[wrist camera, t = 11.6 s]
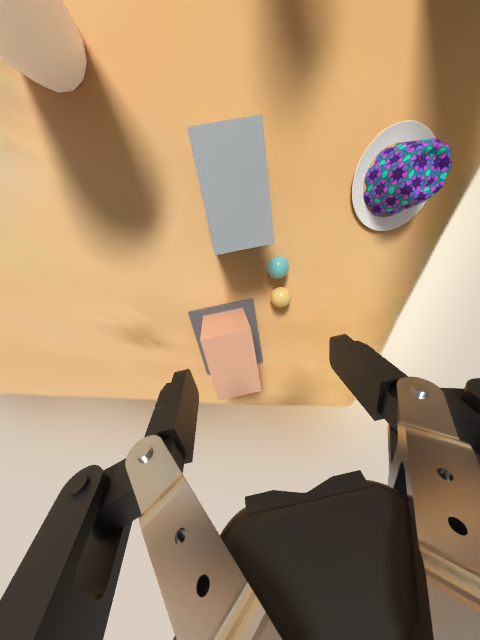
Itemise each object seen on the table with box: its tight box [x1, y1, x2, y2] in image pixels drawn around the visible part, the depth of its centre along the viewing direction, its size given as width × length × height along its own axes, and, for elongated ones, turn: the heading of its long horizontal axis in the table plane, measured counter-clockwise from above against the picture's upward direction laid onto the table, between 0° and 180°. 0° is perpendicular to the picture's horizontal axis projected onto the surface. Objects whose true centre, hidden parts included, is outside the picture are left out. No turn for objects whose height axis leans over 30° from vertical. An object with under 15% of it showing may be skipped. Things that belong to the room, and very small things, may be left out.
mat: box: [188, 298, 263, 374], centre depth 32 cm, size 10×12×1 cm
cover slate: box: [187, 114, 274, 255], centre depth 21 cm, size 6×10×8 cm, turn 10°
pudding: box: [352, 120, 452, 231], centre depth 24 cm, size 12×12×5 cm
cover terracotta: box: [200, 308, 262, 401], centre depth 29 cm, size 6×10×8 cm, turn 10°
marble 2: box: [271, 287, 291, 307], centre depth 29 cm, size 3×3×3 cm
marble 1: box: [267, 256, 289, 278], centre depth 27 cm, size 3×3×3 cm
